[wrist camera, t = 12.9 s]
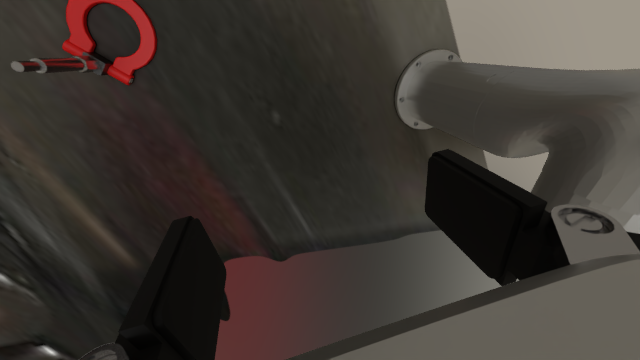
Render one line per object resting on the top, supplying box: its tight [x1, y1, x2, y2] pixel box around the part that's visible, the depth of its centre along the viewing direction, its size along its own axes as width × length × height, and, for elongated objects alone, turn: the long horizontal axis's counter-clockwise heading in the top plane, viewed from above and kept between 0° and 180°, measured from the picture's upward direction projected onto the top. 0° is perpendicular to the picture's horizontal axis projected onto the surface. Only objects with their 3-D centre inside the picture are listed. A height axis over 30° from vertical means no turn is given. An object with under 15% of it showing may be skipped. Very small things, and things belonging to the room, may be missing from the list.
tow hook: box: [11, 0, 157, 85], centre depth 23 cm, size 8×13×9 cm
